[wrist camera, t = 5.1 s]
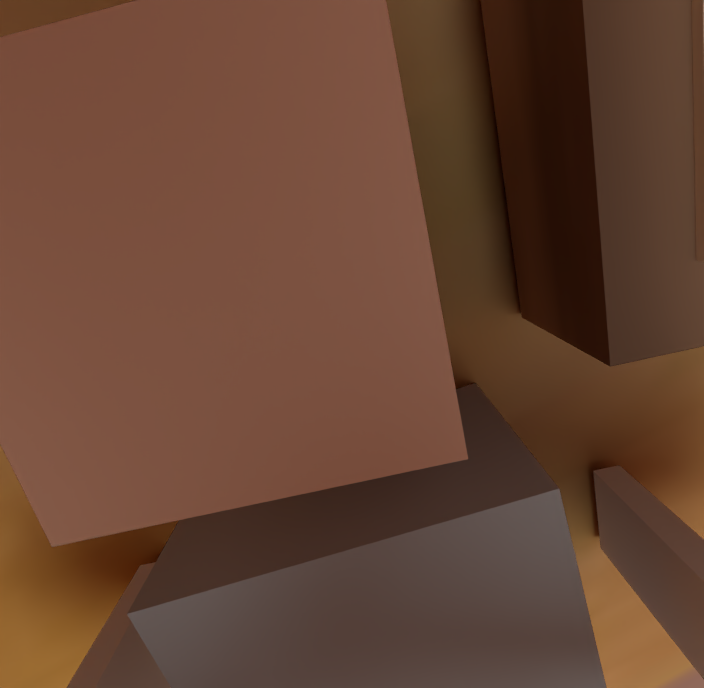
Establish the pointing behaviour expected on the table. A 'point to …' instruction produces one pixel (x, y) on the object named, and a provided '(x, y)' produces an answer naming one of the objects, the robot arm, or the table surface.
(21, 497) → the table surface
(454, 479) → the slate block
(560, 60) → the plinth
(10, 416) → the terracotta cube
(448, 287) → the table surface
